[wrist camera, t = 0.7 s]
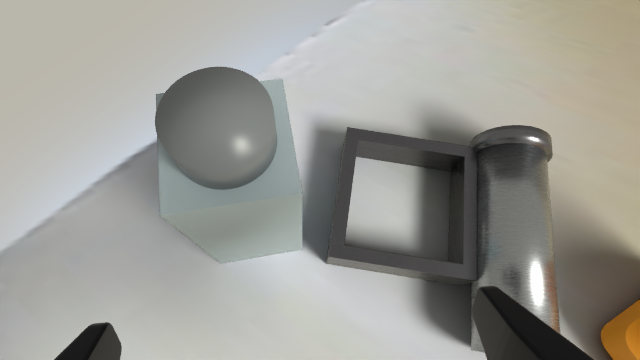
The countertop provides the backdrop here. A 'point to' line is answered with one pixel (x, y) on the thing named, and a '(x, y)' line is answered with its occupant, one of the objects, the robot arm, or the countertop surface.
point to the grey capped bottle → (229, 164)
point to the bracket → (623, 334)
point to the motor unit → (470, 214)
